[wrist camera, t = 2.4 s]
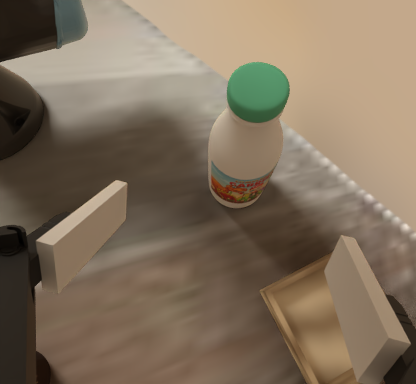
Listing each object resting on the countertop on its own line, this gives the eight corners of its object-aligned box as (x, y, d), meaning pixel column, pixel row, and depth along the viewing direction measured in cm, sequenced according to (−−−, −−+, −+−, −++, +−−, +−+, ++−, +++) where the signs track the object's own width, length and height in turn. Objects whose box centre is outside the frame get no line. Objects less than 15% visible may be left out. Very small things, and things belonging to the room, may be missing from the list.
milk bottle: (197, 179, 39) (185, 77, 20) (238, 149, 40) (262, 28, 21) (232, 220, 37) (255, 150, 18) (274, 187, 38) (335, 90, 19)
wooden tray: (259, 290, 34) (264, 291, 30) (339, 248, 35) (352, 244, 32) (312, 394, 30) (324, 407, 27) (399, 341, 32) (420, 348, 28)
